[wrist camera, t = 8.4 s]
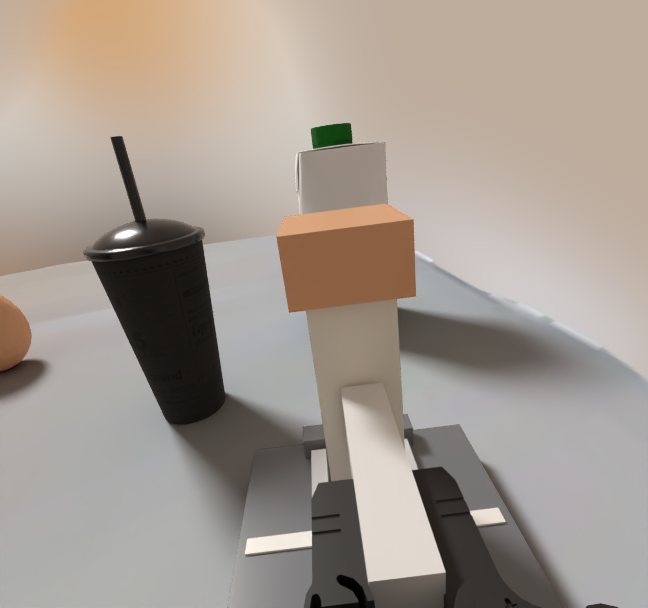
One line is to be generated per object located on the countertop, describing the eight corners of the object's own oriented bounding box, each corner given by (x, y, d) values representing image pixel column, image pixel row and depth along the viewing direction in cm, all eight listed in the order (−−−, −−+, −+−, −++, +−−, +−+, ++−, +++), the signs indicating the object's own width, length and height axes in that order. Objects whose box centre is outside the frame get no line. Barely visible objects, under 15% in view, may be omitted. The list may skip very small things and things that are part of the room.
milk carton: (381, 299, 47) (368, 123, 40) (404, 328, 39) (393, 112, 32) (311, 310, 47) (286, 133, 39) (319, 342, 38) (289, 125, 31)
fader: (424, 537, 16) (413, 219, 11) (328, 549, 16) (276, 236, 11) (401, 465, 20) (386, 203, 15) (324, 474, 20) (284, 216, 15)
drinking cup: (184, 375, 35) (115, 144, 28) (257, 381, 33) (203, 129, 26) (122, 431, 29) (11, 146, 21) (209, 443, 26) (117, 125, 19)
